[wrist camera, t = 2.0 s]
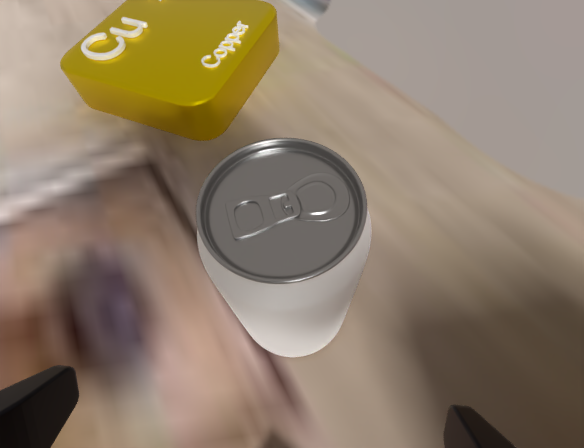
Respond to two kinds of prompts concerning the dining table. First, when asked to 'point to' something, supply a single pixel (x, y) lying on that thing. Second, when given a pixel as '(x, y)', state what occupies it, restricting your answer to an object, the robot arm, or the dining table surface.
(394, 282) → the dining table surface
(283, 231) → the can
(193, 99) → the element tile
